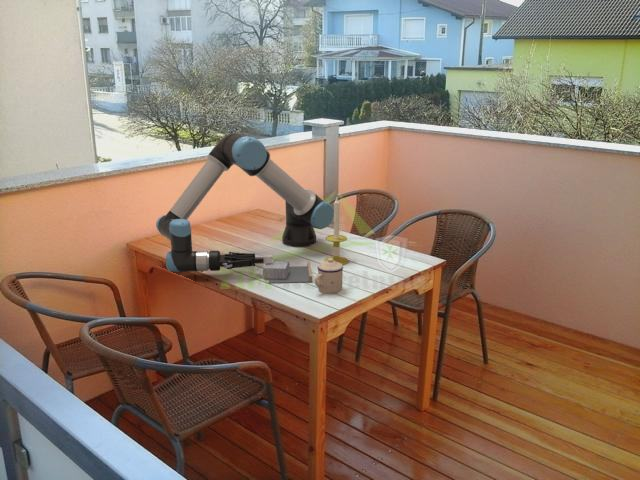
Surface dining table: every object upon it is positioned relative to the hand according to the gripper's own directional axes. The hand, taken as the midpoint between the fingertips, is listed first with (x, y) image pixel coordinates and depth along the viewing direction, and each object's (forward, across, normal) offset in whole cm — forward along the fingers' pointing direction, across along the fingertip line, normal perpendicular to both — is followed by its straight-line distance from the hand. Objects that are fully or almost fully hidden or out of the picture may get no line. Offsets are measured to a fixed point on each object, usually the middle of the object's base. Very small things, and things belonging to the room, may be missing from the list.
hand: (272, 259), depth 222 cm
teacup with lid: (+19, +16, -7) cm, 26 cm away
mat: (+6, 0, -6) cm, 9 cm away
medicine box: (-3, 0, -4) cm, 5 cm away
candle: (+25, -14, -7) cm, 30 cm away
